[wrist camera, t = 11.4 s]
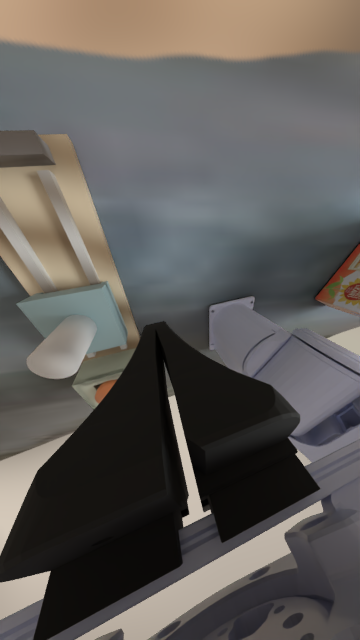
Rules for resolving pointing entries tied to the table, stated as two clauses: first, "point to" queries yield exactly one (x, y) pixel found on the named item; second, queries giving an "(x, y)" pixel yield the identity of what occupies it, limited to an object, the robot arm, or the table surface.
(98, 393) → the button
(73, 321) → the carriage
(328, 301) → the cracker box
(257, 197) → the table surface
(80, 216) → the rail track
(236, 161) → the table surface
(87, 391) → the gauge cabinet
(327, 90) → the table surface
